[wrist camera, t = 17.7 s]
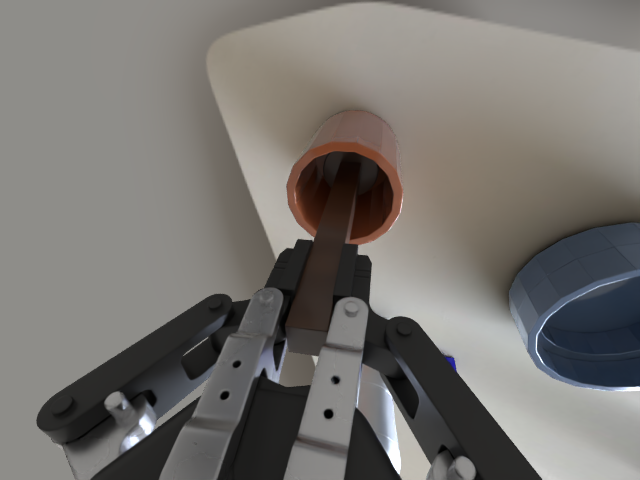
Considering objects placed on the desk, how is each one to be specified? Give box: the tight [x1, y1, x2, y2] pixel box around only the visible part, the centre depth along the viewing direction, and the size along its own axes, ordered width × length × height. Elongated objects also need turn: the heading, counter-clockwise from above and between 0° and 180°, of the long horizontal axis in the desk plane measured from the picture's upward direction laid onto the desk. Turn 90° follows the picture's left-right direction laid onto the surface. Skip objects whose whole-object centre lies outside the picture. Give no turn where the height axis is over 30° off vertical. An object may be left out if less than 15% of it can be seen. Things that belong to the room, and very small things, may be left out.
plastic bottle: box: [357, 364, 401, 474], centre depth 31 cm, size 6×7×20 cm
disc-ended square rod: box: [285, 151, 379, 356], centre depth 18 cm, size 4×4×17 cm
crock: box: [286, 110, 403, 245], centre depth 23 cm, size 8×8×8 cm
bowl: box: [509, 222, 640, 391], centre depth 27 cm, size 15×15×6 cm
